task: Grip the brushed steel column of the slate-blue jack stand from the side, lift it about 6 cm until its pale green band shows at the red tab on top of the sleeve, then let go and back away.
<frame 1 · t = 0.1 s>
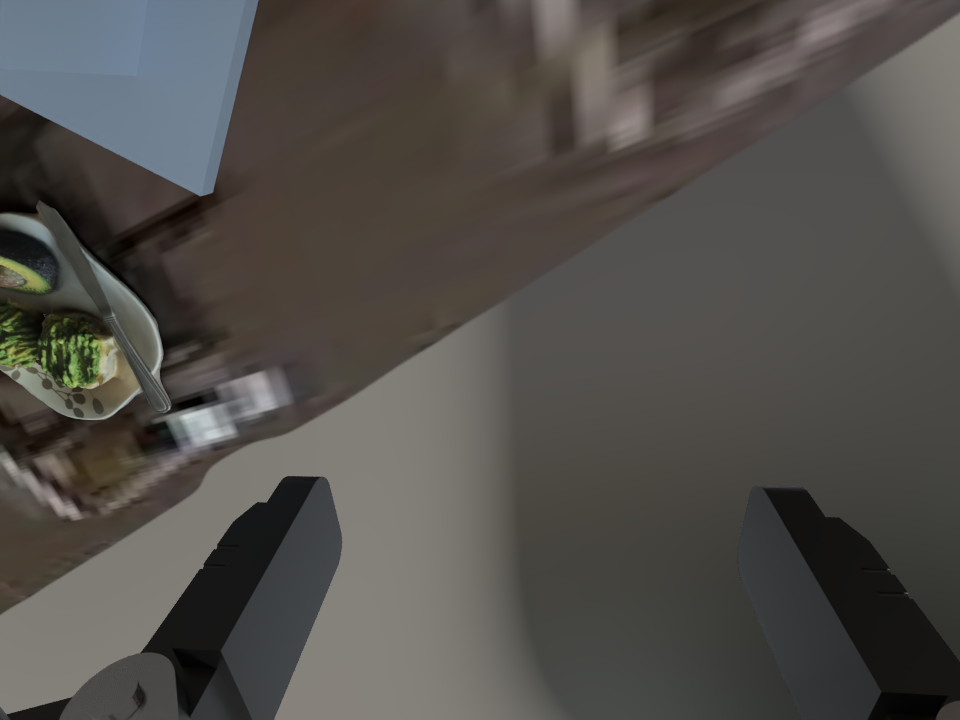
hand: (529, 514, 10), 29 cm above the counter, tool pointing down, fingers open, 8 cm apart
salad plate: (66, 311, 44), on the counter
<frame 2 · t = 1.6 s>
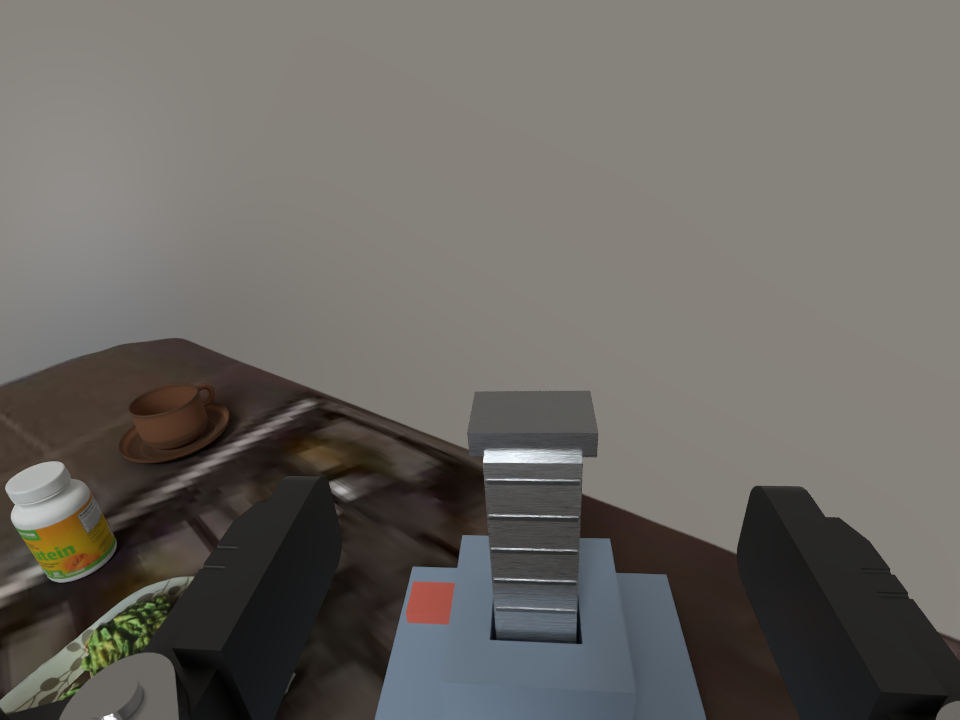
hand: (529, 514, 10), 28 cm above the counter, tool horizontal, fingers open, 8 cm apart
supplement bottle: (85, 561, 47), on the counter
cup and saucer: (181, 442, 63), on the counter
jack stand column: (535, 581, 27), point 13 cm above the counter, slide at 0.0 cm
salad plate: (154, 702, 35), on the counter
jack stand base: (537, 716, 33), on the counter
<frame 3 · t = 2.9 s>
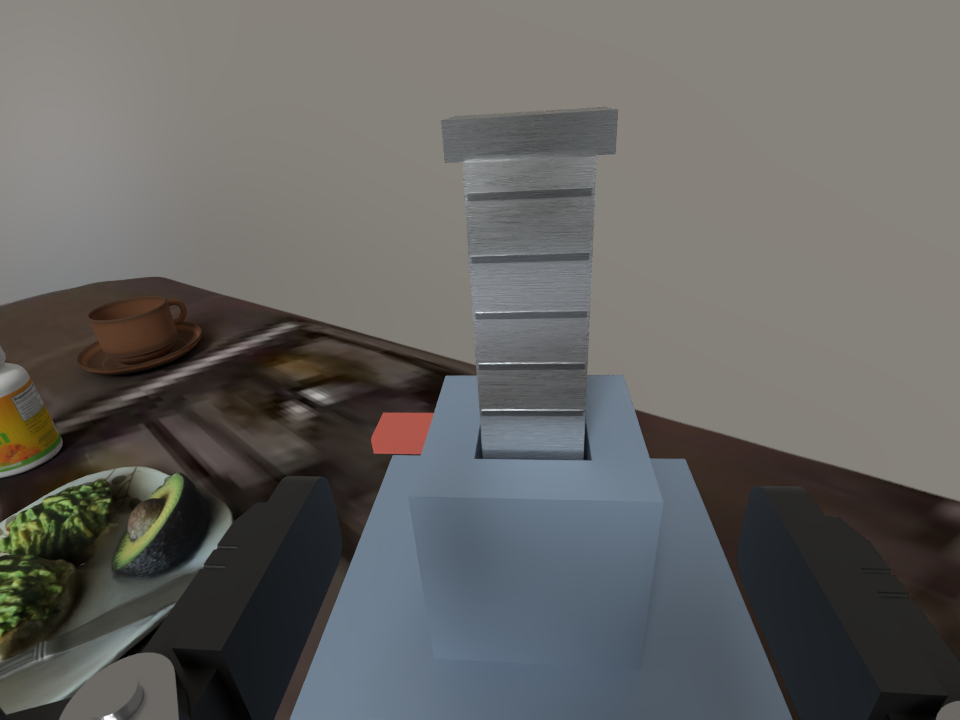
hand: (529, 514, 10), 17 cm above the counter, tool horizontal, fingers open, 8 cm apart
supplement bottle: (25, 460, 41), on the counter
cup and saucer: (148, 360, 58), on the counter
jack stand column: (532, 394, 21), point 13 cm above the counter, slide at 0.0 cm
salad plate: (82, 589, 30), on the counter
jack stand base: (534, 598, 27), on the counter
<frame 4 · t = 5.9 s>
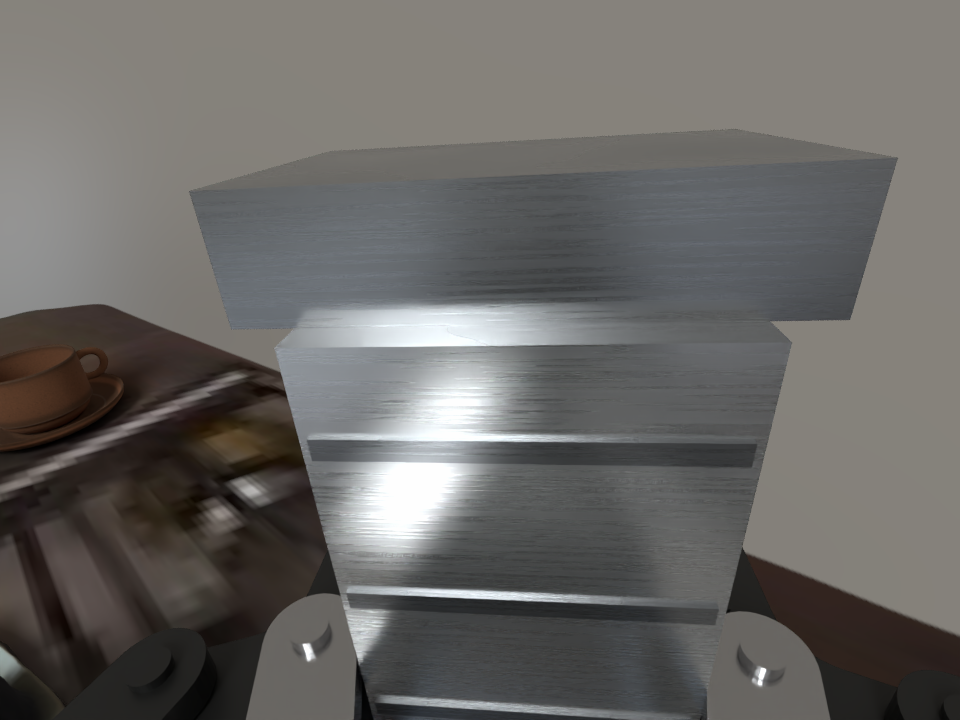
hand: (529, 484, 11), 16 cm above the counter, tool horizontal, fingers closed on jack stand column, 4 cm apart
cup and saucer: (55, 425, 46), on the counter
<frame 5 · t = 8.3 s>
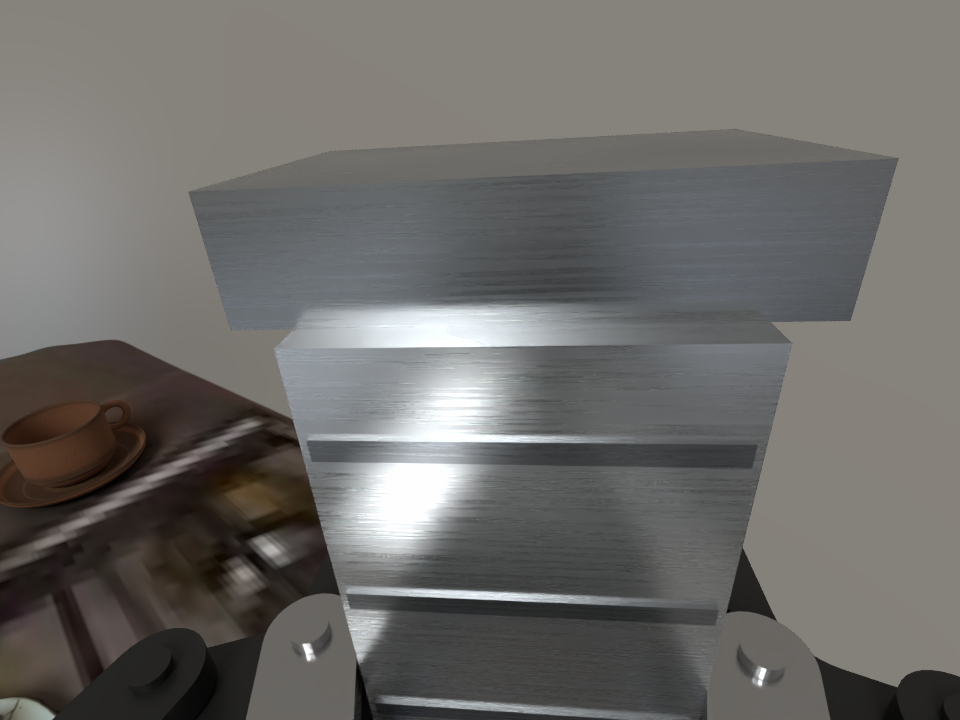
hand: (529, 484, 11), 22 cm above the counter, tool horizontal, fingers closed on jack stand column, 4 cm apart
cup and saucer: (81, 476, 49), on the counter
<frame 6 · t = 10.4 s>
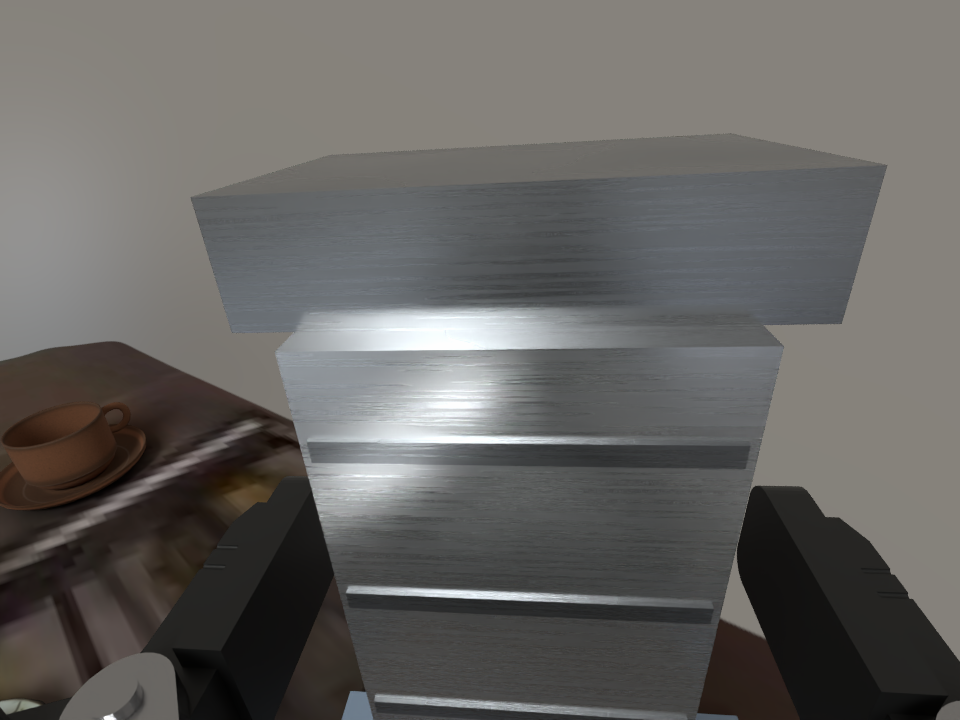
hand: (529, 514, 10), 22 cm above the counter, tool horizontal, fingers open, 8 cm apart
cup and saucer: (81, 478, 49), on the counter
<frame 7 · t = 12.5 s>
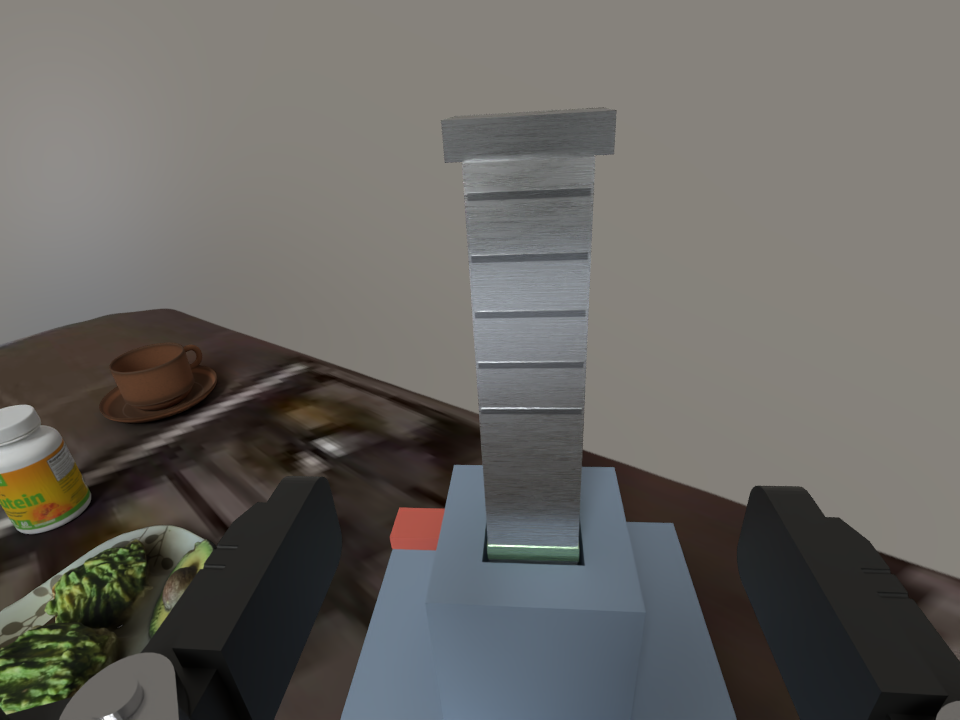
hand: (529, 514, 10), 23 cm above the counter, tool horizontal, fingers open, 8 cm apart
supplement bottle: (57, 514, 44), on the counter
cup and saucer: (166, 404, 60), on the counter
jack stand column: (531, 392, 22), point 19 cm above the counter, slide at 5.9 cm
salad plate: (121, 650, 33), on the counter
jack stand base: (534, 664, 30), on the counter
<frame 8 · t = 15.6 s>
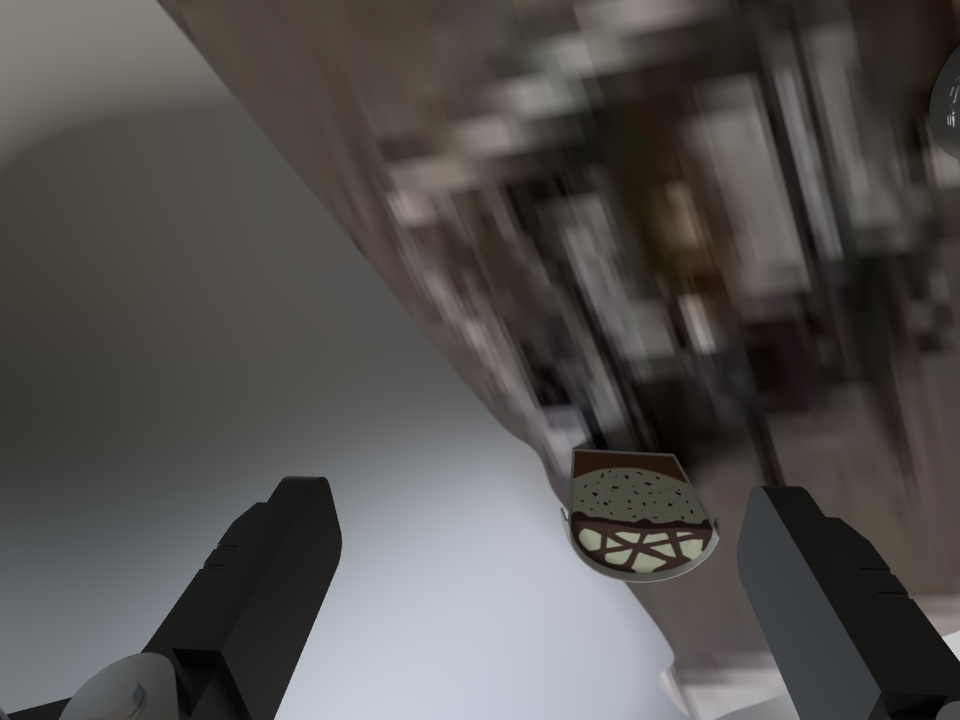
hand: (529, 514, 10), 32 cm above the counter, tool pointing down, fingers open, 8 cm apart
food container: (618, 475, 49), on the counter
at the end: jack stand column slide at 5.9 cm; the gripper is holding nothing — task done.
